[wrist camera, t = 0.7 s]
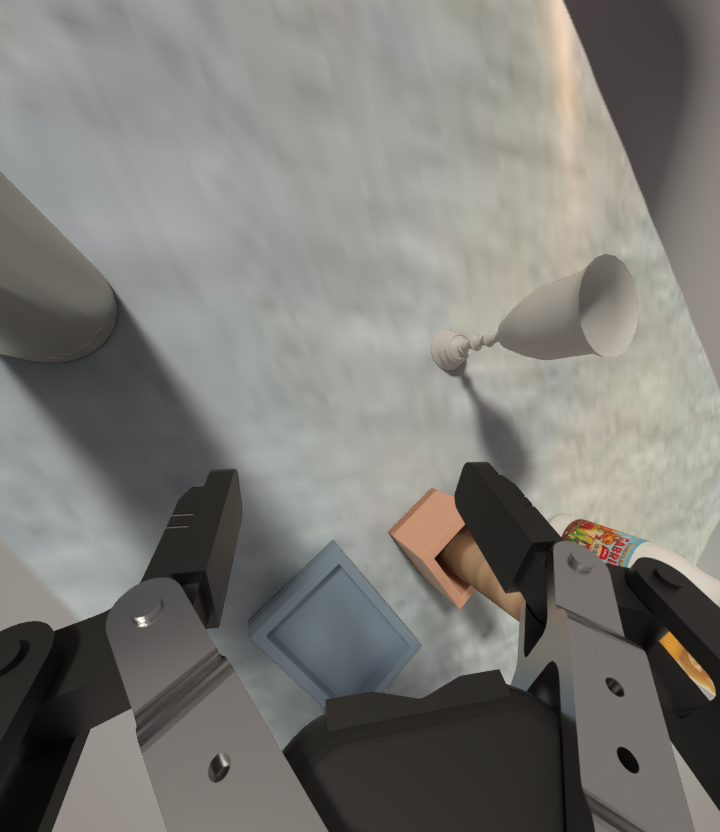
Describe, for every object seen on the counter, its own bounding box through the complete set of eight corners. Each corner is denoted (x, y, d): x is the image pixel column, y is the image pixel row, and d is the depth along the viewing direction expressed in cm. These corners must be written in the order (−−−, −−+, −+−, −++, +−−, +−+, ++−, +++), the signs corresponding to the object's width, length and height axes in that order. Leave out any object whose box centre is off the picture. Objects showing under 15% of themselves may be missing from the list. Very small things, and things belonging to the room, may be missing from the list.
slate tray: (248, 620, 31) (249, 638, 28) (333, 539, 34) (340, 549, 31) (341, 710, 35) (349, 732, 32) (410, 630, 38) (421, 645, 35)
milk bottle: (578, 516, 49) (788, 583, 30) (569, 565, 48) (777, 663, 30) (545, 509, 46) (755, 578, 28) (535, 561, 45) (741, 667, 27)
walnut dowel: (411, 534, 36) (521, 614, 22) (434, 511, 37) (552, 572, 23) (428, 558, 37) (544, 647, 23) (450, 534, 38) (573, 605, 24)
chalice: (466, 383, 40) (632, 366, 23) (421, 374, 37) (572, 347, 21) (472, 327, 40) (643, 270, 23) (429, 314, 38) (584, 239, 21)
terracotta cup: (388, 532, 36) (421, 559, 30) (431, 487, 38) (472, 504, 32) (421, 575, 38) (459, 609, 32) (461, 530, 40) (505, 554, 34)
